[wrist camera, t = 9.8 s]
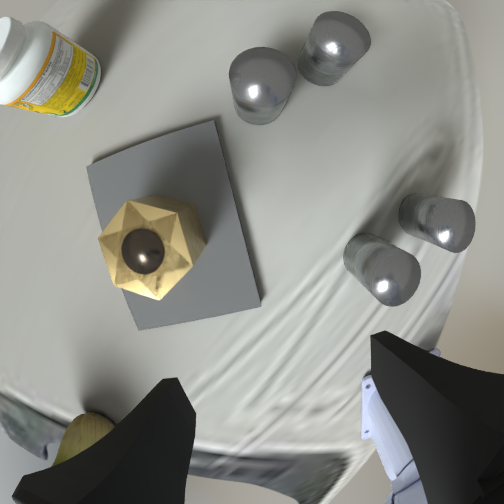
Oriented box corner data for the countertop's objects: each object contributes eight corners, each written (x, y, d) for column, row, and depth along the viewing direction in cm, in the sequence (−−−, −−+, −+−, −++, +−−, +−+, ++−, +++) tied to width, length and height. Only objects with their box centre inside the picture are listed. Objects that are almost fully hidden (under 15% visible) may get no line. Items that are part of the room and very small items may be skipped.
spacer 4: (432, 230, 18) (476, 245, 13) (401, 239, 18) (442, 258, 13) (428, 190, 17) (473, 196, 12) (395, 197, 17) (438, 204, 12)
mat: (261, 302, 19) (261, 306, 18) (141, 326, 19) (138, 330, 18) (215, 122, 16) (213, 120, 15) (90, 166, 16) (86, 166, 16)
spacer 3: (384, 270, 18) (421, 297, 13) (346, 281, 18) (375, 313, 14) (380, 229, 18) (419, 246, 13) (340, 238, 18) (370, 260, 13)
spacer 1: (288, 119, 16) (303, 96, 11) (240, 129, 16) (237, 109, 11) (276, 77, 15) (285, 42, 10) (229, 87, 15) (222, 54, 10)
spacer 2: (347, 84, 15) (378, 56, 10) (305, 88, 15) (324, 58, 10) (334, 46, 14) (359, 11, 10) (292, 50, 14) (306, 11, 10)
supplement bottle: (114, 81, 15) (29, 28, 5) (62, 133, 15) (-36, 120, 6) (86, 42, 14) (13, -8, 4) (40, 90, 14) (-43, 67, 5)
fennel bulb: (136, 437, 23) (104, 526, 11) (109, 442, 23) (77, 519, 12) (97, 401, 21) (48, 490, 10) (73, 409, 22) (28, 485, 10)
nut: (212, 264, 17) (200, 292, 13) (149, 279, 18) (122, 308, 13) (189, 184, 16) (169, 185, 12) (125, 205, 16) (90, 214, 12)
